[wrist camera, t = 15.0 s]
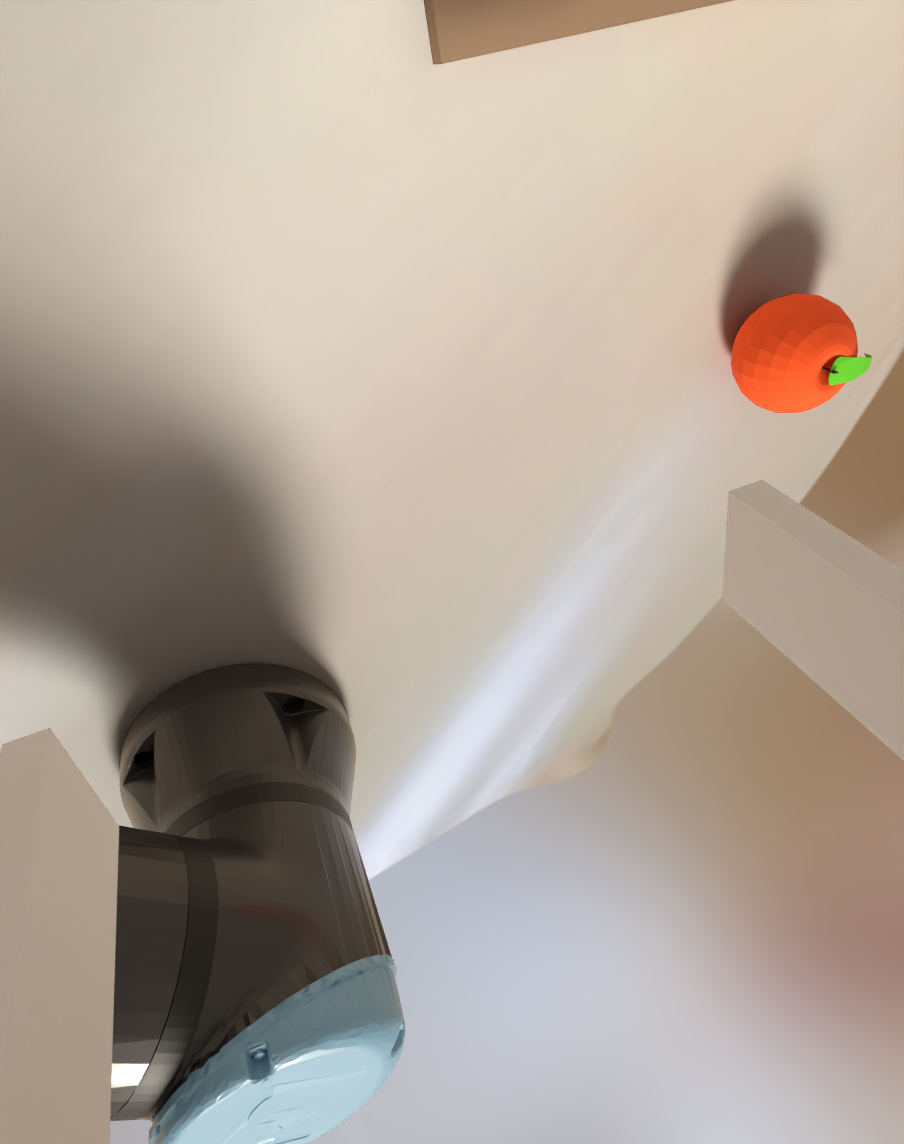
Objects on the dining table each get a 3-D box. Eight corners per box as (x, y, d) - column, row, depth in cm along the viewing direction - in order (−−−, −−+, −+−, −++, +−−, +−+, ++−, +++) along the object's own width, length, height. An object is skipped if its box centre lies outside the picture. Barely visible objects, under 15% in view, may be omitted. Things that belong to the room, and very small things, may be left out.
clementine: (827, 277, 47) (920, 303, 42) (799, 385, 51) (881, 422, 46) (719, 285, 45) (802, 314, 40) (698, 397, 49) (770, 438, 43)
